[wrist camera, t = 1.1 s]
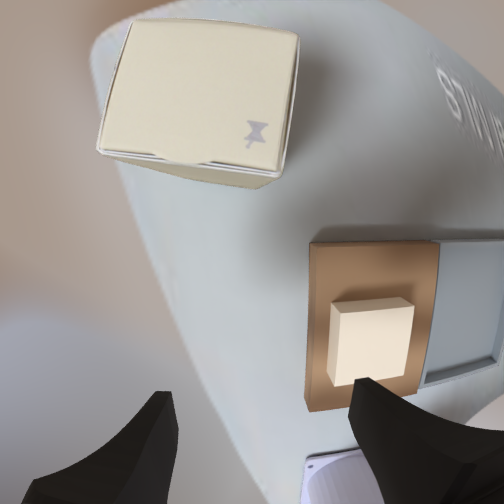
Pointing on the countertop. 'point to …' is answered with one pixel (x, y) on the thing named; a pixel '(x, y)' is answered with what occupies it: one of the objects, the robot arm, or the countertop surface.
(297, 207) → the countertop surface
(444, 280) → the tray
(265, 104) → the box
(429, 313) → the plate
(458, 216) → the countertop surface
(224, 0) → the countertop surface
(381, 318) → the tile
